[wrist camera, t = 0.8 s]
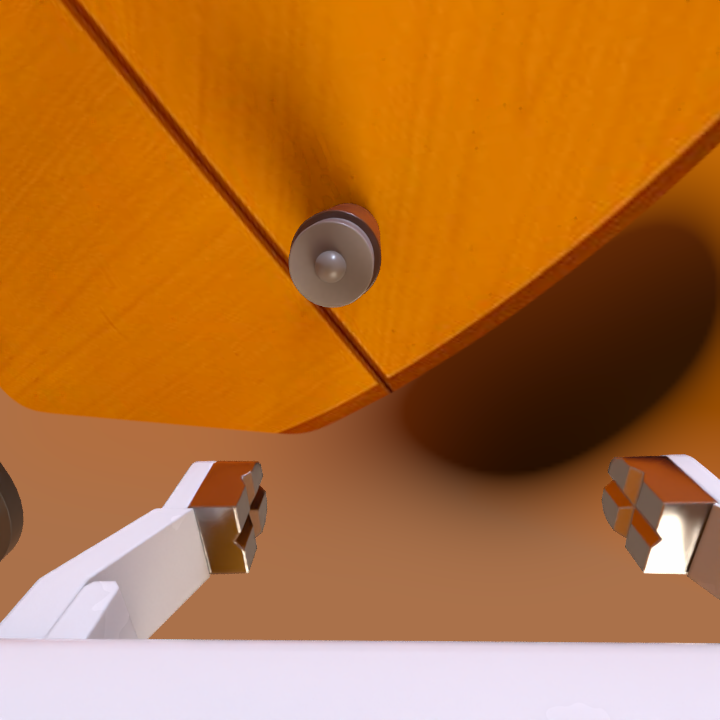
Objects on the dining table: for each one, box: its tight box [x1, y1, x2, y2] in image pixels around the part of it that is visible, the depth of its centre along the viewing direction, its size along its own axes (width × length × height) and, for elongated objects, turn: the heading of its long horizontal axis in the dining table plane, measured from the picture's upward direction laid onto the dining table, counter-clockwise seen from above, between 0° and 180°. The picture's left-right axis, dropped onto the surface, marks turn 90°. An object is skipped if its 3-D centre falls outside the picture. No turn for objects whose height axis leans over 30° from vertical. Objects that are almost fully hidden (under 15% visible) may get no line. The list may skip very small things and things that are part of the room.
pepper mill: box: [289, 203, 381, 307], centre depth 27 cm, size 5×5×14 cm
